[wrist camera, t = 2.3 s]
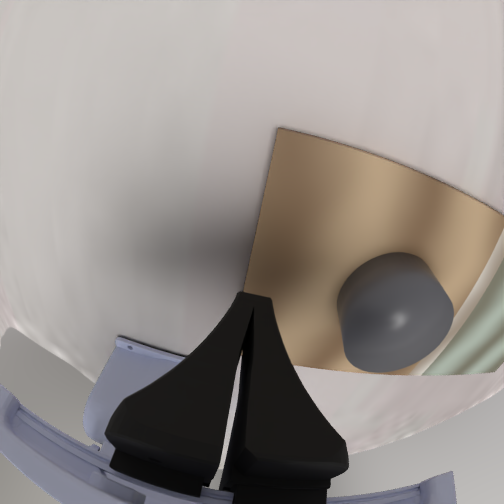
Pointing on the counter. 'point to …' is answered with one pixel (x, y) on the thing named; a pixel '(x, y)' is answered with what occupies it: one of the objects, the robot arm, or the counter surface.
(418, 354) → the puck
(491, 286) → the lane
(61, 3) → the counter surface
